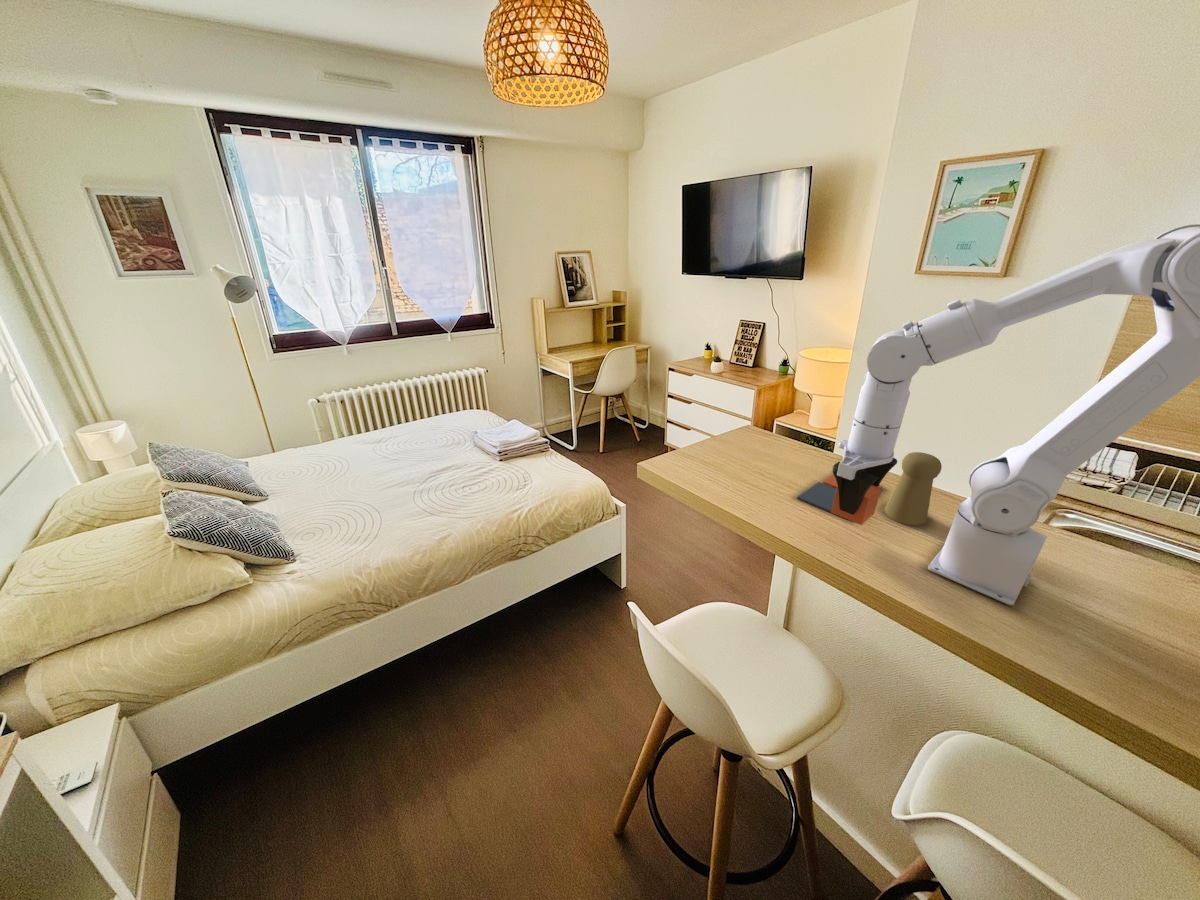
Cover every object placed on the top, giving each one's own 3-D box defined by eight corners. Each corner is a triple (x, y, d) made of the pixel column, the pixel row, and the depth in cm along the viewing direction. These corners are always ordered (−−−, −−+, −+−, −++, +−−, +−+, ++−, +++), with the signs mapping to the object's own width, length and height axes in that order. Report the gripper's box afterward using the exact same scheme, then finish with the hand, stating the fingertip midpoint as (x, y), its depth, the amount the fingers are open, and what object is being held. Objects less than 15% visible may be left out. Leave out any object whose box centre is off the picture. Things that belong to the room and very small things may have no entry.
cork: (924, 530, 74) (946, 468, 69) (881, 517, 77) (899, 457, 72) (928, 513, 78) (949, 454, 73) (887, 501, 81) (904, 444, 76)
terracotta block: (873, 513, 70) (881, 488, 68) (861, 525, 68) (868, 498, 66) (843, 502, 73) (850, 477, 72) (830, 512, 71) (836, 486, 69)
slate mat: (868, 503, 81) (869, 501, 81) (848, 520, 76) (849, 518, 76) (818, 483, 87) (818, 481, 87) (796, 498, 82) (797, 496, 82)
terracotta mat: (882, 488, 85) (882, 486, 85) (867, 500, 82) (868, 498, 81) (838, 472, 91) (838, 470, 91) (822, 483, 87) (823, 481, 87)
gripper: (868, 402, 71) (848, 479, 77) (823, 426, 63) (805, 511, 68) (920, 414, 66) (894, 496, 72) (879, 442, 58) (854, 532, 64)
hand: (854, 505), depth 70 cm, fingers closed on terracotta block, 4 cm apart
